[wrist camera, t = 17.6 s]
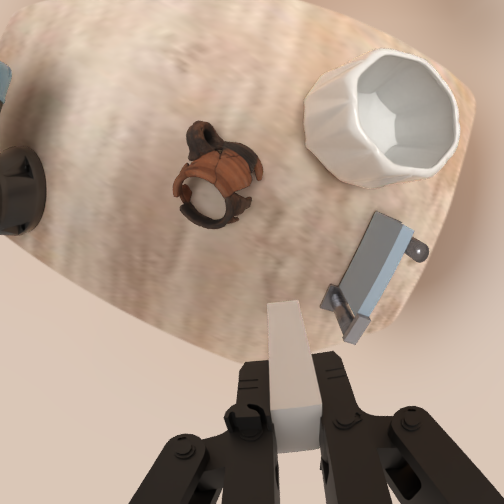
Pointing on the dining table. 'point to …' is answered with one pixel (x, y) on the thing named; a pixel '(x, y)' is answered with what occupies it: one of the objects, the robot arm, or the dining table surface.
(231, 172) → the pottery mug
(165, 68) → the dining table surface
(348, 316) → the hinge post
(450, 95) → the vase
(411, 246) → the post
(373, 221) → the gate
